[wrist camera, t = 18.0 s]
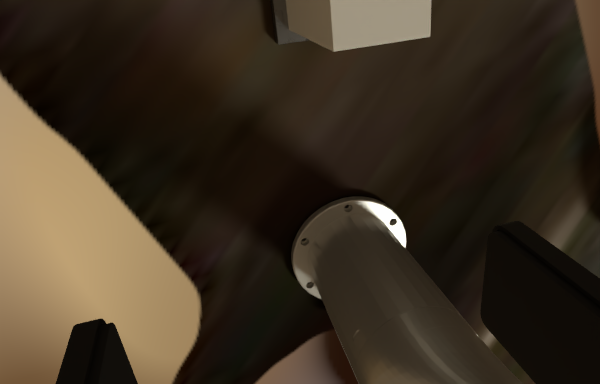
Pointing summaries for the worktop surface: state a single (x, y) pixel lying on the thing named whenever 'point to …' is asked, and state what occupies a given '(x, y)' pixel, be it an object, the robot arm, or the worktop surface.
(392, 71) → the worktop surface
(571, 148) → the worktop surface
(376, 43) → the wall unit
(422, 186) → the worktop surface
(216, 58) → the worktop surface
